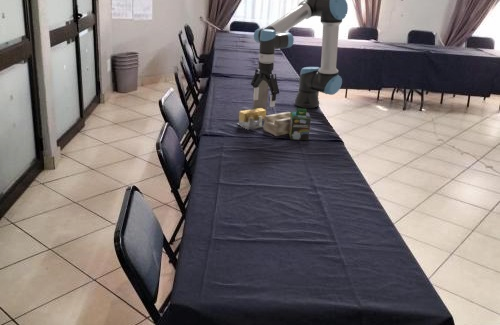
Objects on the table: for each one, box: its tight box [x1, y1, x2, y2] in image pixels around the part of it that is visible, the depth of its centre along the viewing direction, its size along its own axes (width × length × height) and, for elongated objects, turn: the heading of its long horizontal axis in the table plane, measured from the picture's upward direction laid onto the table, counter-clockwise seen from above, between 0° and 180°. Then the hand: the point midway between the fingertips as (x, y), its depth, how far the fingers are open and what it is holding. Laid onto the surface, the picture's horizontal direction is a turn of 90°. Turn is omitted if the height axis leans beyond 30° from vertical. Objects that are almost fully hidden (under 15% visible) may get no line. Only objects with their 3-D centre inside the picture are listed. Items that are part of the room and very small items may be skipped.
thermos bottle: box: [252, 60, 269, 111], centre depth 257 cm, size 8×8×28 cm
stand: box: [236, 116, 264, 131], centre depth 230 cm, size 10×9×6 cm
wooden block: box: [238, 108, 267, 122], centre depth 230 cm, size 14×4×4 cm, turn 127°
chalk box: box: [288, 108, 312, 141], centre depth 218 cm, size 9×9×15 cm
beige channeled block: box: [263, 111, 291, 137], centre depth 227 cm, size 16×10×8 cm, turn 127°
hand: (263, 103), depth 232 cm, fingers open, 13 cm apart
